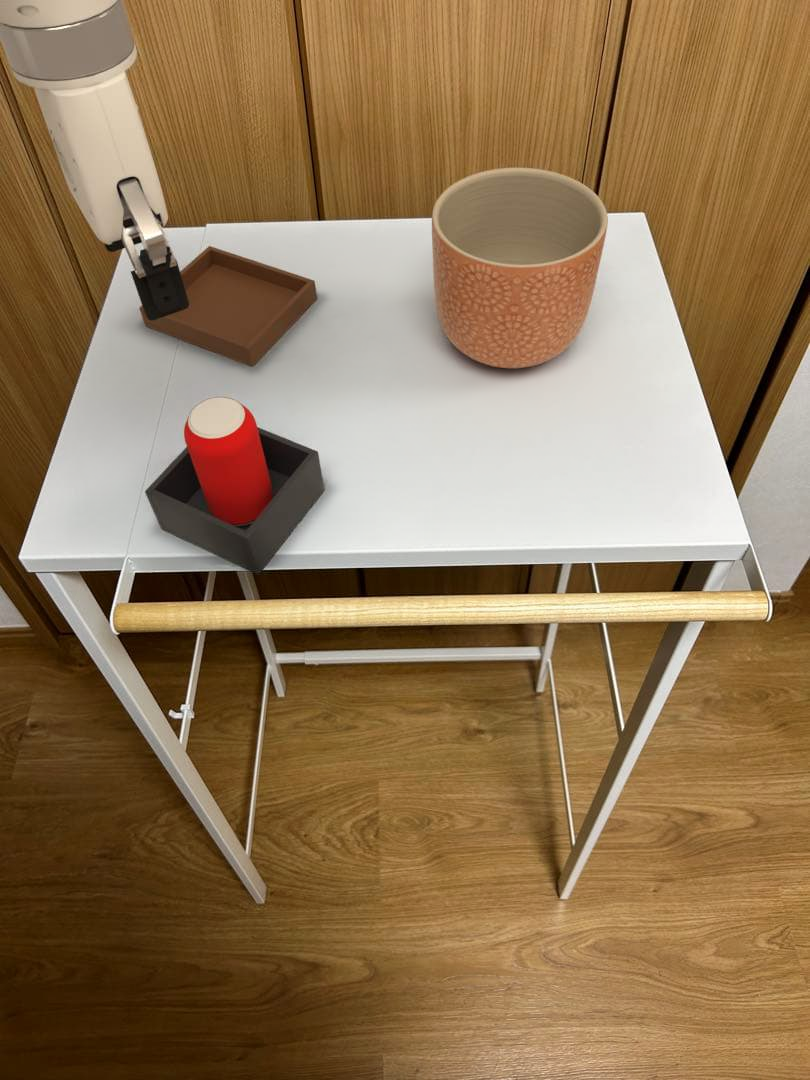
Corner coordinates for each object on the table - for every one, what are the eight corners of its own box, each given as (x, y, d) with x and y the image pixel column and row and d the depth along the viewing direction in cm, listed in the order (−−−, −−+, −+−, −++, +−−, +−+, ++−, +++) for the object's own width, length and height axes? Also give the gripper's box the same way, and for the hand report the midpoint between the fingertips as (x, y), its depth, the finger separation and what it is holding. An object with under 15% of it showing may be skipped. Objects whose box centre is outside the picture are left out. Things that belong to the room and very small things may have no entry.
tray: (145, 326, 96) (138, 307, 94) (213, 264, 103) (209, 245, 101) (252, 366, 91) (248, 348, 89) (317, 299, 98) (314, 280, 96)
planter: (582, 291, 97) (603, 167, 85) (589, 393, 87) (613, 269, 75) (437, 287, 99) (437, 165, 86) (427, 387, 89) (425, 264, 76)
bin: (161, 529, 78) (144, 491, 74) (231, 451, 84) (219, 411, 79) (258, 575, 75) (247, 538, 70) (324, 490, 81) (318, 451, 76)
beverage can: (199, 524, 78) (166, 434, 68) (226, 475, 81) (198, 384, 72) (260, 537, 77) (235, 449, 67) (284, 487, 80) (264, 396, 70)
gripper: (-27, 0, 53) (67, 236, 67) (42, 113, 44) (135, 360, 58) (87, -27, 55) (156, 208, 69) (176, 77, 46) (235, 324, 60)
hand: (146, 277), depth 64 cm, fingers open, 9 cm apart
